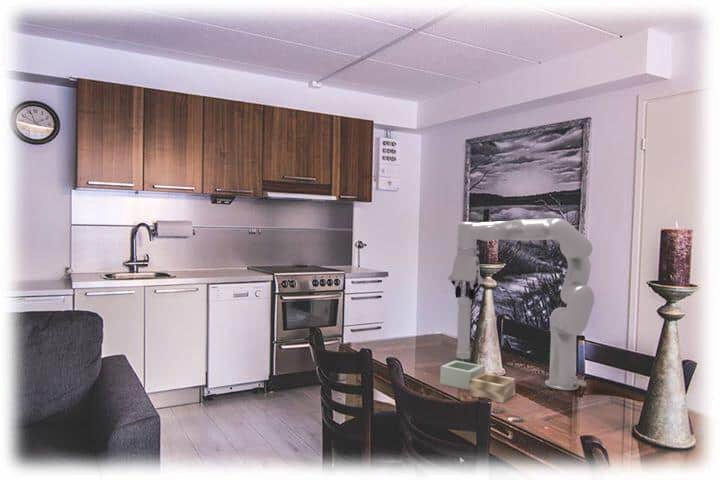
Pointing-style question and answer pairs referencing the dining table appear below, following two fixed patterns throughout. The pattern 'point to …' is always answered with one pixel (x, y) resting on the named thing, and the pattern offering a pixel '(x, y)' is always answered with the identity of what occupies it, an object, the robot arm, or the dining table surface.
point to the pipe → (464, 327)
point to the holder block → (459, 373)
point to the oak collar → (492, 387)
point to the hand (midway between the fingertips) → (464, 297)
